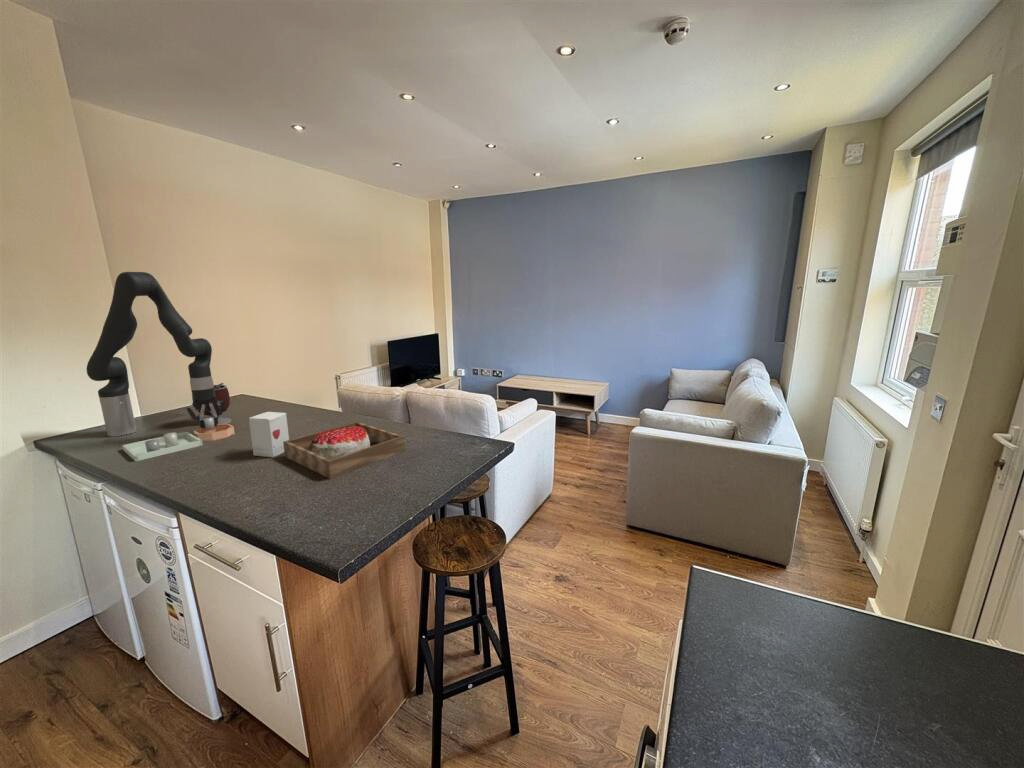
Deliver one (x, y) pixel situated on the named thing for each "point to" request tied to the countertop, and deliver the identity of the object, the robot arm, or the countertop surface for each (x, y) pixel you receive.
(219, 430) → the bowl
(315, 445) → the cake
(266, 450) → the supplement box
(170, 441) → the pebble
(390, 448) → the wooden tray
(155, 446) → the grey rounded knob
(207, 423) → the pebble
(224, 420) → the mate gourd
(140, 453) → the tray
